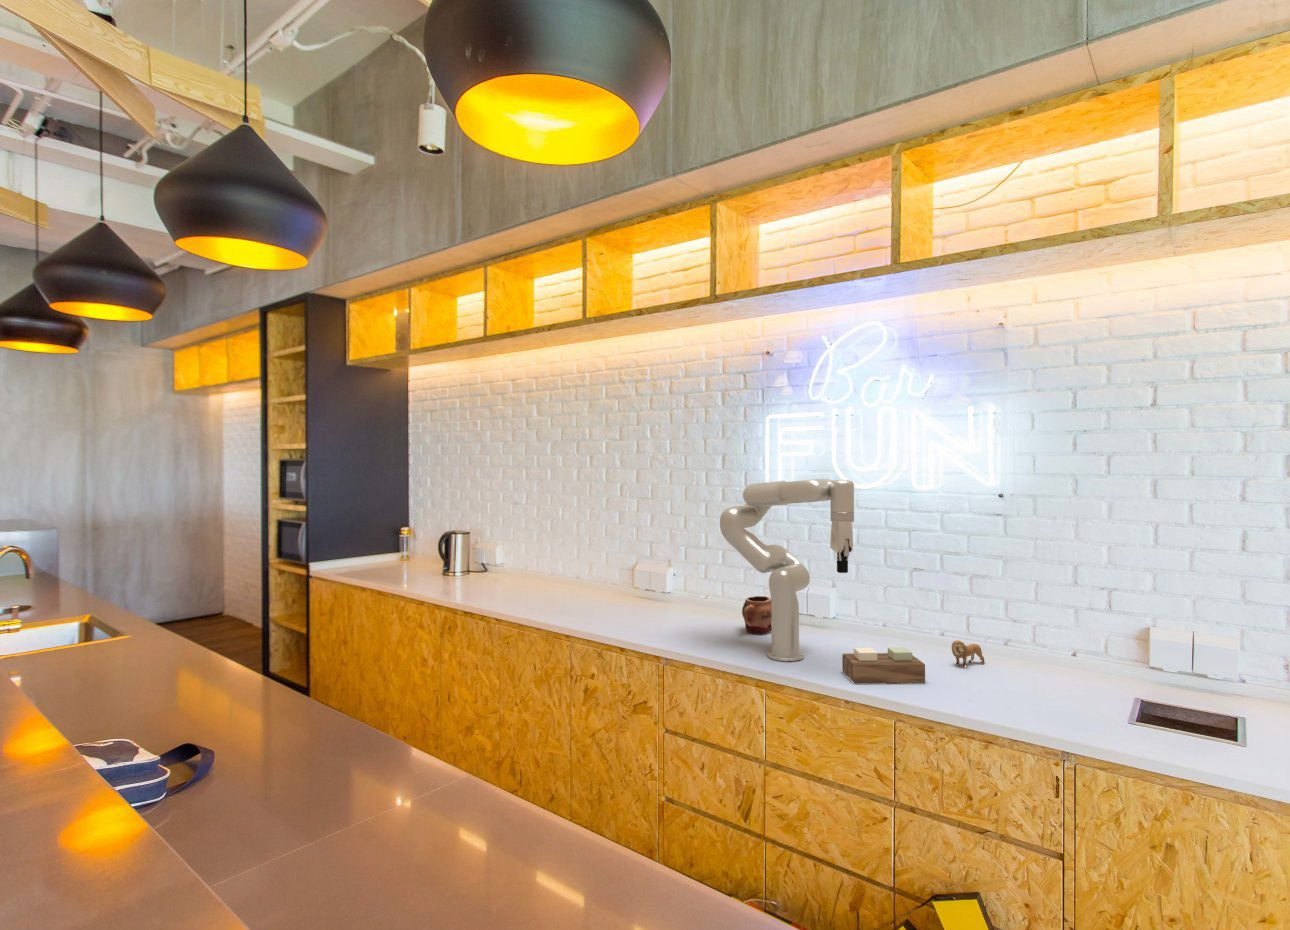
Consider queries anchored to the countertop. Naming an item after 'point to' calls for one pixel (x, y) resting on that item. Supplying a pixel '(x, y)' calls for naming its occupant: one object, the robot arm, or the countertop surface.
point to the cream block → (865, 654)
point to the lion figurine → (966, 651)
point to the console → (883, 670)
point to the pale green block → (900, 654)
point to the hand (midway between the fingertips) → (842, 572)
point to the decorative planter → (757, 614)
